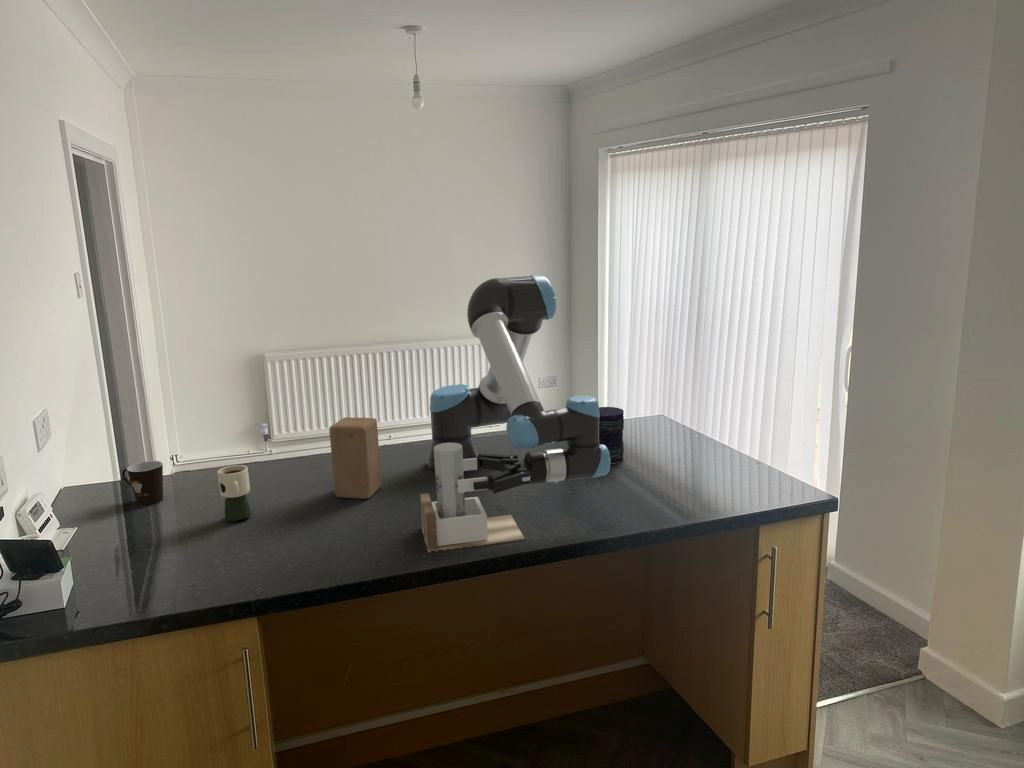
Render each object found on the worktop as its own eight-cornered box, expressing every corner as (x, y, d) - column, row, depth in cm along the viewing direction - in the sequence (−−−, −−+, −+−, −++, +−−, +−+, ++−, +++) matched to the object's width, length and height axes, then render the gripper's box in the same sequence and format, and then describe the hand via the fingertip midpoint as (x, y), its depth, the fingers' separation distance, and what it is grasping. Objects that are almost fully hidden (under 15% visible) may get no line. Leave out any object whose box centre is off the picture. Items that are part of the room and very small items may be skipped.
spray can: (440, 523, 173) (435, 442, 169) (467, 523, 173) (463, 442, 168) (436, 535, 167) (431, 451, 162) (465, 535, 167) (460, 451, 162)
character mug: (221, 513, 188) (215, 465, 185) (250, 508, 191) (245, 460, 188) (225, 529, 178) (218, 478, 175) (256, 523, 181) (250, 473, 178)
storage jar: (626, 464, 214) (626, 415, 211) (592, 465, 214) (591, 416, 211) (621, 453, 224) (621, 406, 221) (589, 454, 224) (588, 407, 221)
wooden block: (369, 500, 193) (363, 427, 189) (334, 498, 195) (327, 426, 191) (383, 486, 203) (377, 417, 198) (349, 485, 205) (343, 416, 200)
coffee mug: (173, 500, 198) (167, 465, 196) (139, 510, 192) (134, 474, 190) (155, 490, 206) (150, 456, 204) (123, 499, 200) (117, 464, 197)
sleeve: (431, 525, 175) (429, 502, 173) (478, 520, 177) (477, 496, 176) (437, 546, 164) (435, 521, 162) (487, 539, 166) (486, 514, 165)
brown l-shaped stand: (421, 527, 175) (419, 494, 174) (511, 516, 180) (509, 484, 178) (427, 552, 162) (425, 516, 160) (524, 539, 167) (523, 505, 165)
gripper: (558, 501, 160) (462, 512, 156) (531, 464, 184) (447, 473, 180) (558, 468, 158) (460, 478, 154) (530, 436, 182) (445, 444, 178)
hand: (453, 476), depth 167 cm, fingers open, 13 cm apart
